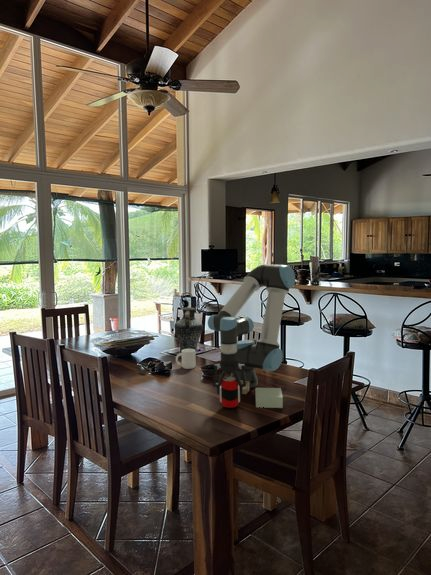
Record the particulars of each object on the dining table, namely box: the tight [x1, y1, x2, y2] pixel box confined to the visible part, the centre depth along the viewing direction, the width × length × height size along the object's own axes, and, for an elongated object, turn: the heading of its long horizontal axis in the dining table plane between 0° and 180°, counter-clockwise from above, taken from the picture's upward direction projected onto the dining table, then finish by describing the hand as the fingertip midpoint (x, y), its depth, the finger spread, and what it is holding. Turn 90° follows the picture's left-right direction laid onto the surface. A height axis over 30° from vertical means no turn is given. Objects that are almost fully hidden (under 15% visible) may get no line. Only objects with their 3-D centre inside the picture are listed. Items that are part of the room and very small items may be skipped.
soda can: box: [220, 376, 239, 409], centre depth 193 cm, size 8×8×12 cm
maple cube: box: [238, 380, 250, 395], centre depth 213 cm, size 5×5×5 cm
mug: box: [175, 349, 196, 370], centre depth 255 cm, size 12×8×10 cm
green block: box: [255, 387, 284, 409], centre depth 199 cm, size 12×12×5 cm
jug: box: [174, 306, 204, 352], centre depth 291 cm, size 21×19×30 cm
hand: (230, 400), depth 193 cm, fingers closed on soda can, 7 cm apart
